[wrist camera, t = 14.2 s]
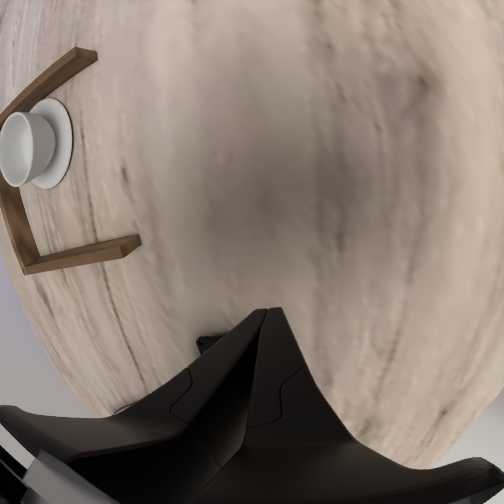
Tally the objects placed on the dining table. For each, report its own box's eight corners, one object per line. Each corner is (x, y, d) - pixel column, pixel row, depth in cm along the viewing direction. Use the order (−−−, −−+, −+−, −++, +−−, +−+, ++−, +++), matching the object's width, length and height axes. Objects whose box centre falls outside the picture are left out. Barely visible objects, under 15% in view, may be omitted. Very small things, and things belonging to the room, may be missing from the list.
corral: (141, 244, 24) (123, 257, 22) (39, 265, 29) (24, 275, 26) (96, 51, 18) (75, 46, 15) (3, 127, 22) (-14, 131, 19)
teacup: (50, 80, 19) (17, 80, 15) (90, 140, 21) (54, 145, 17) (15, 147, 23) (-14, 154, 19) (48, 206, 25) (18, 220, 21)
